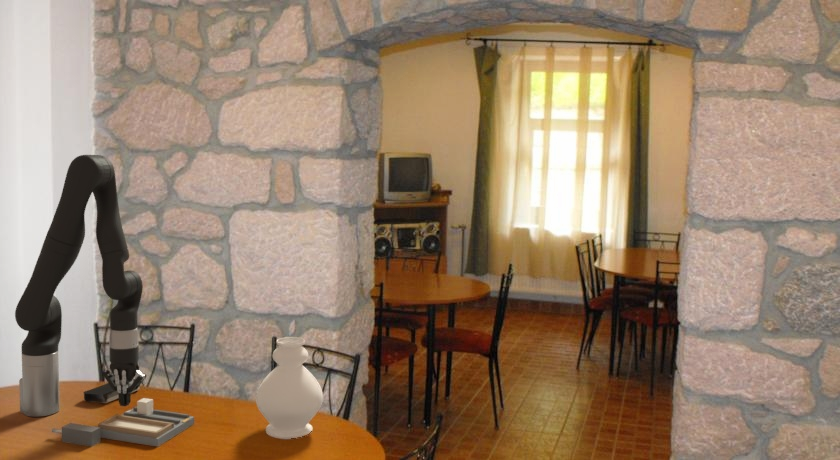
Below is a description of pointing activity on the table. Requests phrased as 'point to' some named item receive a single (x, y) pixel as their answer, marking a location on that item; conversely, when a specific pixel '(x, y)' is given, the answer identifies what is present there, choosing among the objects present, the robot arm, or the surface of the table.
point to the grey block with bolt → (79, 434)
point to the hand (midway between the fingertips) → (124, 405)
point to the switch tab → (145, 406)
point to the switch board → (145, 426)
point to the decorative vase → (289, 392)
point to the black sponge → (102, 394)
